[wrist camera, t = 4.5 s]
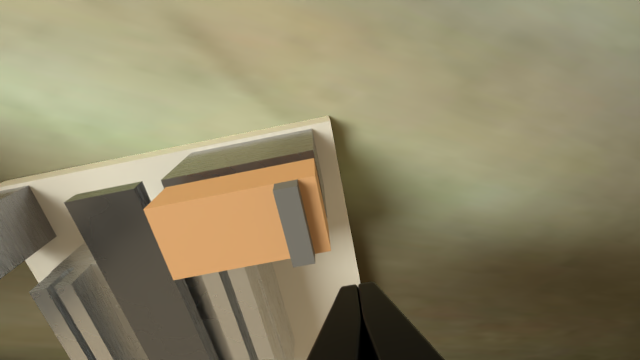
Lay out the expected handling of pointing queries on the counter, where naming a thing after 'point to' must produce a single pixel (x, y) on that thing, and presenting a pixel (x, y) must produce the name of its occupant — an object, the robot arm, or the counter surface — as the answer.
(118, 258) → the grey lever
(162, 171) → the board
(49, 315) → the grey piece
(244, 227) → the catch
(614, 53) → the counter surface
